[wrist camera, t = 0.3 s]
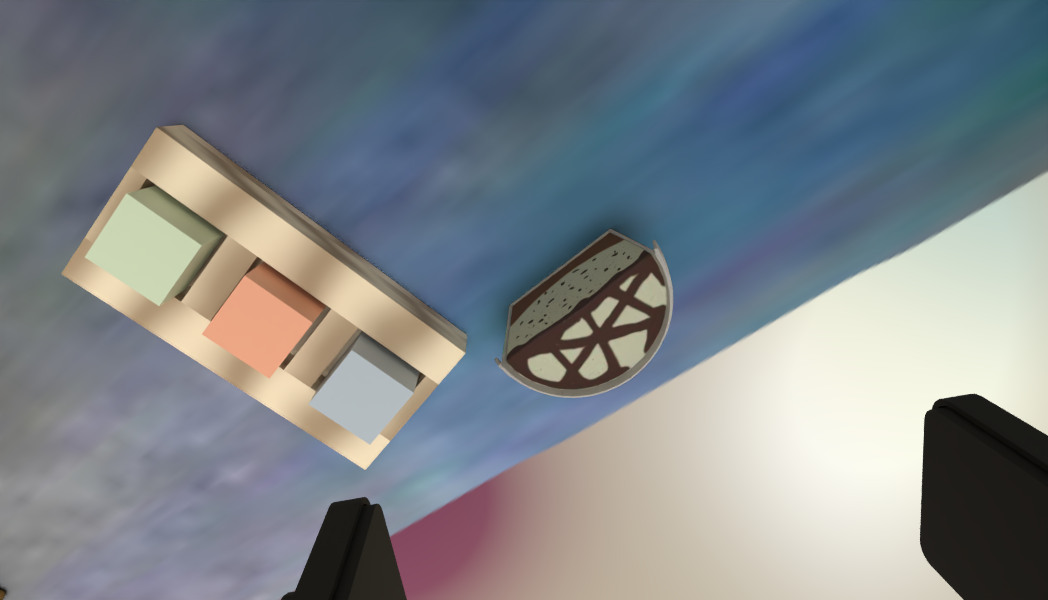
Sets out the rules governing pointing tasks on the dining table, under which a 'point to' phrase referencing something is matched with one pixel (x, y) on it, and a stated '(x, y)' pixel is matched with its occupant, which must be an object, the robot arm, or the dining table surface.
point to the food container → (590, 320)
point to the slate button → (365, 388)
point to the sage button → (154, 244)
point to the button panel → (300, 255)
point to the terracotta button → (264, 319)
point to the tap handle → (2, 594)
